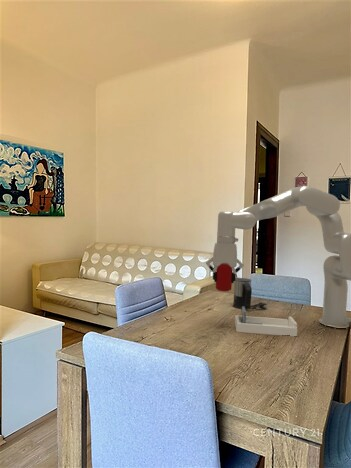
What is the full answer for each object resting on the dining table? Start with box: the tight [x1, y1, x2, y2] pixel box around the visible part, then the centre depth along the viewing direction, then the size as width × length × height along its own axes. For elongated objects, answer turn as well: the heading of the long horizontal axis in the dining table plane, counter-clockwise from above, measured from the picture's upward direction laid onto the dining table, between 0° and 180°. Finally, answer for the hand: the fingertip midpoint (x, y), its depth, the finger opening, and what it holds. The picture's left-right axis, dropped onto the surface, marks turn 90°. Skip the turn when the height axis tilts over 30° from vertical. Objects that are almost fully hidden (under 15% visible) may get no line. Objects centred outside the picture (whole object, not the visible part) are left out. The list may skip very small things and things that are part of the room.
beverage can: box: [215, 263, 233, 293], centre depth 138 cm, size 7×7×12 cm
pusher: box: [241, 306, 263, 325], centre depth 137 cm, size 8×9×7 cm
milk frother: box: [232, 277, 267, 310], centre depth 171 cm, size 14×16×15 cm
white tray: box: [234, 314, 298, 337], centre depth 137 cm, size 24×12×5 cm, turn 83°
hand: (223, 281), depth 138 cm, fingers closed on beverage can, 6 cm apart
